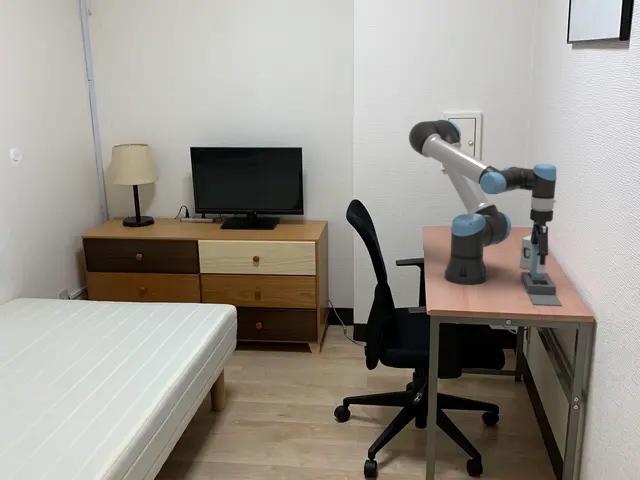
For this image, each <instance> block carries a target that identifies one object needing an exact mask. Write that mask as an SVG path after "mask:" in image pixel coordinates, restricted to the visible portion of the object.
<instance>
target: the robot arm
mask: <svg viewBox="0 0 640 480" xmlns="http://www.w3.org/2000/svg"><path fill="white" fill-rule="evenodd" d="M461 136H462V133H461V130H460V127H459V126H458V125H457V123H456V122H455V121H451V120H449V119H448V120H447V119H437V120H428V121H427V120H426V121H420V122H417V124H416V123H415V125H414V126H413V127H412V128H411V129H410V131H409V134H408V141H409V144H410V146H411V148H412V150H414V151H415V152H416V153H418V154H419V155H421V156H423V157H424V158H426V159H427V158H432V159H433V160H435V161H437V162H439V163H441V165H442V167H443V169H444V171H445V173H446V174H447V176H448V178H449V180H450V182H451V183H452V185H453V187H454V189H455V191H456V192H457V195H458V197H459V198H460V200H461V202H462V203H463V206H464V208H465V209H466V211H467V213H462V214H459V215H457V216H455V217H454V218H453V220H452V224H451V229H450V230H451V231H450V232H451V236H450V237H451V239H450V257H449V260H448V263H447V265H446V269H445V271H444V278H445V280H446V281H448V282H451V283H455V284H460V285H479V284H482V283H485V282H486V281H487V280H488V279H487V276H488V274H487V269H486V266H485V263H484V262H485V261H484V248H486V247H490V246H494V245H498V244H500V243H502V242H504V241H506V239H508V238H509V236H510V234H511V231H512V222H511V219H510V217H509V216H508V215H507V214H506V213H505V212H502V211H499V210H498V208H497V206H496V204H494V203H491V202H490V201H489V200H488V198H487V197H486V194H487V195H498V194H502V193H506V192H511V191H516V190H522V191H529V192H530V191H531V198H530V208H531V209H530V213H529V220H531V221H533V226H532V229H531V234H530V235H531V239H530V240H531V253H532V244H533V245H537V244H538V248H539V253H537V255H538V260H537V272H536V273H543V274H545V273H546V264H547V257H548V255H549V226H547V223H550V222H552V221H553V220H554V218H553V217H554V210H553V209H554V208H555V204H554V203H556V199H555V195H556V194H555V192H556V183H557V167H556V166H555V165H553V164H549V163H546V164H545V163H537V164H535V165H534V166H533V168H525V167H517V166H506V167H504V168H503V169H502V170H500V169H498V168H495V167H494V166H492V165H491V164H488V163H486V162H484V161H483V160H481V159H479V158H478V157H475V156H474V155H472V154H470V153H468V152H466V151H465V150H462V149H461V148H462V143H461V139H462V138H461ZM542 251H544V252H542ZM530 262H531V256H530Z"/></svg>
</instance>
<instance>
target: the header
mask: <svg viewBox="0 0 640 480" xmlns="http://www.w3.org/2000/svg"><path fill="white" fill-rule="evenodd" d="M520 275H521V276H520V281H521V282H522V285H523V287H524V289H525V291H526V293H527V295H550V296H556V291H557V286H556V285H555V283H554V281H553V280H552V278H551V277H550V275H549V274H548V272H545V274H544V276H543V279H542V278H530V271H521V273H520Z"/></svg>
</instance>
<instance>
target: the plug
mask: <svg viewBox="0 0 640 480" xmlns="http://www.w3.org/2000/svg"><path fill="white" fill-rule="evenodd" d="M542 252H544V251H542ZM537 253H539V248H538V245H532V253H531V266H530V269H529V272H530V278H542V279H543V276H544V274H543V273H536V272H537V260H538V255H537Z"/></svg>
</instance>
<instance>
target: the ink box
mask: <svg viewBox="0 0 640 480" xmlns="http://www.w3.org/2000/svg"><path fill="white" fill-rule="evenodd" d="M531 235H532V234H530V235H528V236H525V237H523V238H522V239H521V250H520V251H521V252H520V259H519V260H520V262H519V268H523V269H525V270H526V269H527V270H530V266H531V262H530V256H531V240H530V239H531ZM532 245H533V244H532ZM537 245H538V244H537Z"/></svg>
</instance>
